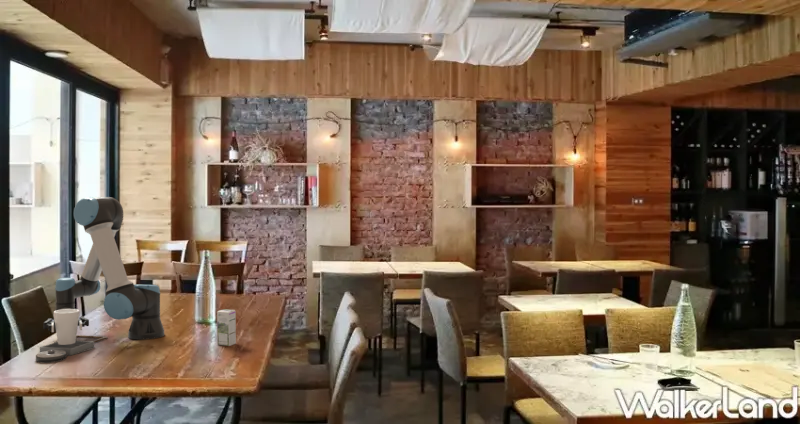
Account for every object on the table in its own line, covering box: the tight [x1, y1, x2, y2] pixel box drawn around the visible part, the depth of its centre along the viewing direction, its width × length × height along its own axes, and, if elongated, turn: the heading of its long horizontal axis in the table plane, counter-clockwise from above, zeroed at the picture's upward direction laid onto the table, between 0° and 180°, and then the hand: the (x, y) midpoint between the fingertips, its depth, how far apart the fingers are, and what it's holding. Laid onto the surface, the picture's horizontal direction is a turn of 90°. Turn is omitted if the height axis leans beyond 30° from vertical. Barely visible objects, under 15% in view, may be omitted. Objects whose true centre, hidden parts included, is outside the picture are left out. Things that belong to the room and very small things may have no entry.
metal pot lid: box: [35, 349, 67, 364], centre depth 270 cm, size 11×11×4 cm
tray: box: [39, 339, 95, 357], centre depth 284 cm, size 14×14×3 cm
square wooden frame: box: [53, 334, 109, 344], centre depth 301 cm, size 15×15×1 cm
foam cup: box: [53, 308, 81, 345], centre depth 284 cm, size 10×9×13 cm
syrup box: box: [216, 308, 237, 347], centre depth 296 cm, size 6×6×14 cm
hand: (67, 327), depth 280 cm, fingers closed on foam cup, 9 cm apart
